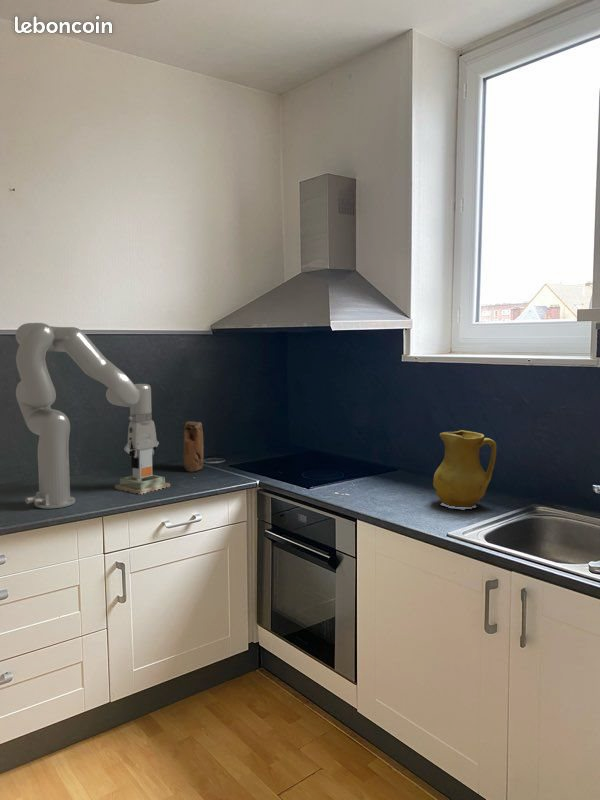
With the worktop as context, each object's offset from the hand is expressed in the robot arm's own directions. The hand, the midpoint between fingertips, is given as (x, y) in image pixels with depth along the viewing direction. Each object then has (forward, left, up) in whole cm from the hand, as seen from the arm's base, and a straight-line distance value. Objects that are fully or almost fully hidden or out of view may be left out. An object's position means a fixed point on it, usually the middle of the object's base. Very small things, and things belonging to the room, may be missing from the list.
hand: (142, 465), depth 230 cm
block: (+33, +7, -8) cm, 35 cm away
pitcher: (+47, -104, -8) cm, 114 cm away
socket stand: (0, 0, -8) cm, 8 cm away
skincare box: (0, 0, -4) cm, 4 cm away
